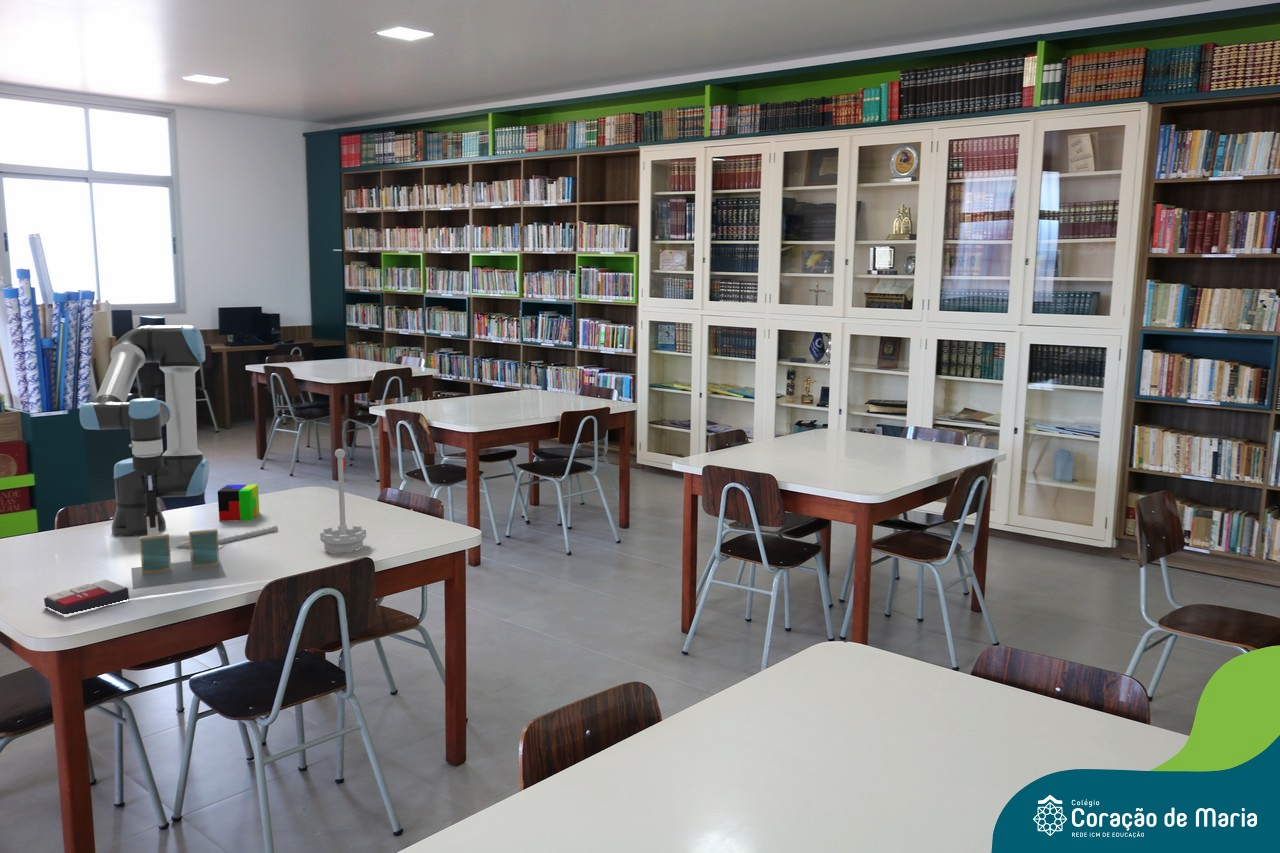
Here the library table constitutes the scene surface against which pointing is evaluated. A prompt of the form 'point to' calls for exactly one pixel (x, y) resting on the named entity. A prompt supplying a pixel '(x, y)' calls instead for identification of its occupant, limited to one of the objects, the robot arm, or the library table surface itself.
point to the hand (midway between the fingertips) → (153, 538)
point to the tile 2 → (204, 548)
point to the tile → (155, 554)
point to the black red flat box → (87, 597)
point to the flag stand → (342, 521)
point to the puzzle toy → (238, 502)
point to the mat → (176, 575)
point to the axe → (238, 536)
